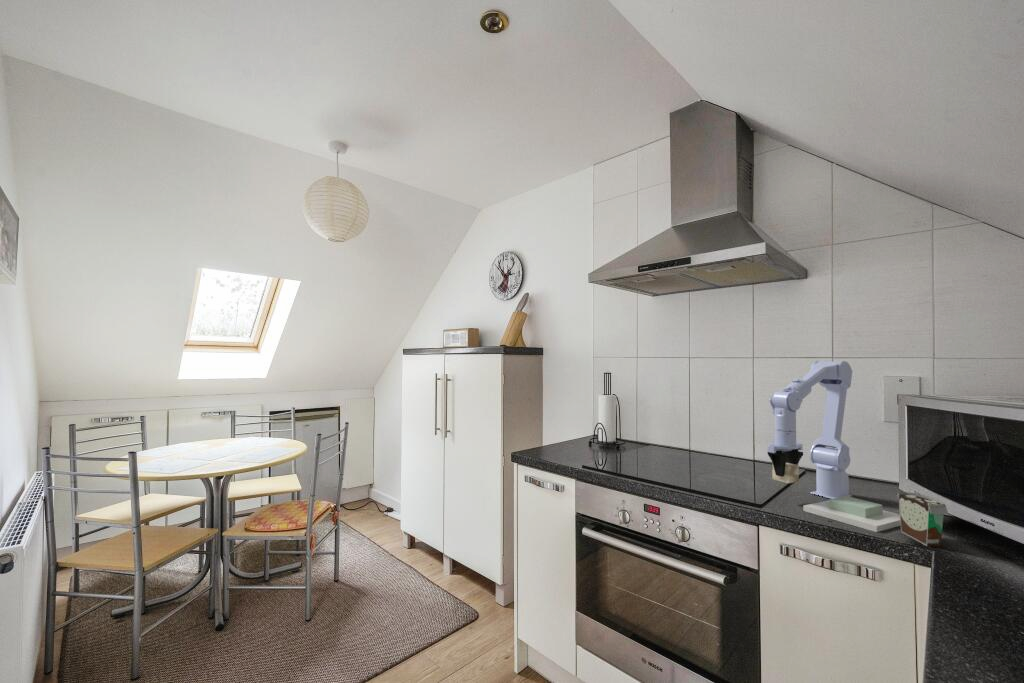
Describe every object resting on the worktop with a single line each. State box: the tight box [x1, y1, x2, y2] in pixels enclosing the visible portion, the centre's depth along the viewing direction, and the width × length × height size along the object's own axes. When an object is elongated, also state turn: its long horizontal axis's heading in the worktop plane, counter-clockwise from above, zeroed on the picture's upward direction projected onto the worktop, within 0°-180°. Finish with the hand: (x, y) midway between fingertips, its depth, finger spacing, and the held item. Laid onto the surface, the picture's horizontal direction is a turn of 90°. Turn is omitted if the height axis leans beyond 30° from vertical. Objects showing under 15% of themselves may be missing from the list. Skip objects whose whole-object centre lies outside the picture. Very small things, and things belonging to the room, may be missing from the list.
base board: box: [802, 496, 901, 533], centre depth 126 cm, size 18×18×4 cm
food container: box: [896, 490, 948, 547], centre depth 110 cm, size 12×6×10 cm, turn 168°
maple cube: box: [771, 462, 800, 484], centre depth 138 cm, size 5×5×5 cm
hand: (785, 475), depth 138 cm, fingers closed on maple cube, 5 cm apart
